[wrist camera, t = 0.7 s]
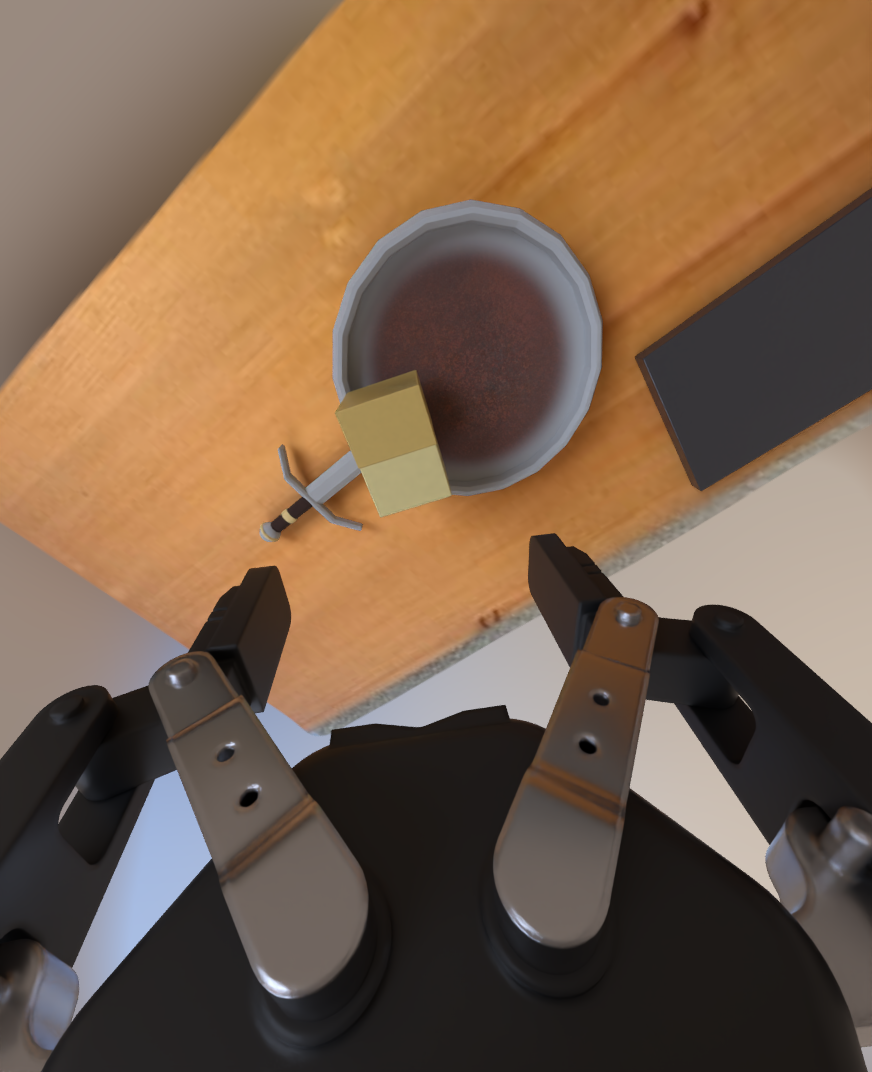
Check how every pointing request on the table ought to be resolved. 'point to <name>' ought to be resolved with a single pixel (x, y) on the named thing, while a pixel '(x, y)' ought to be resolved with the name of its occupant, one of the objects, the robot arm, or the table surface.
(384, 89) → the table surface
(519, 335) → the frying pan
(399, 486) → the butter
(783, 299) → the slate board
